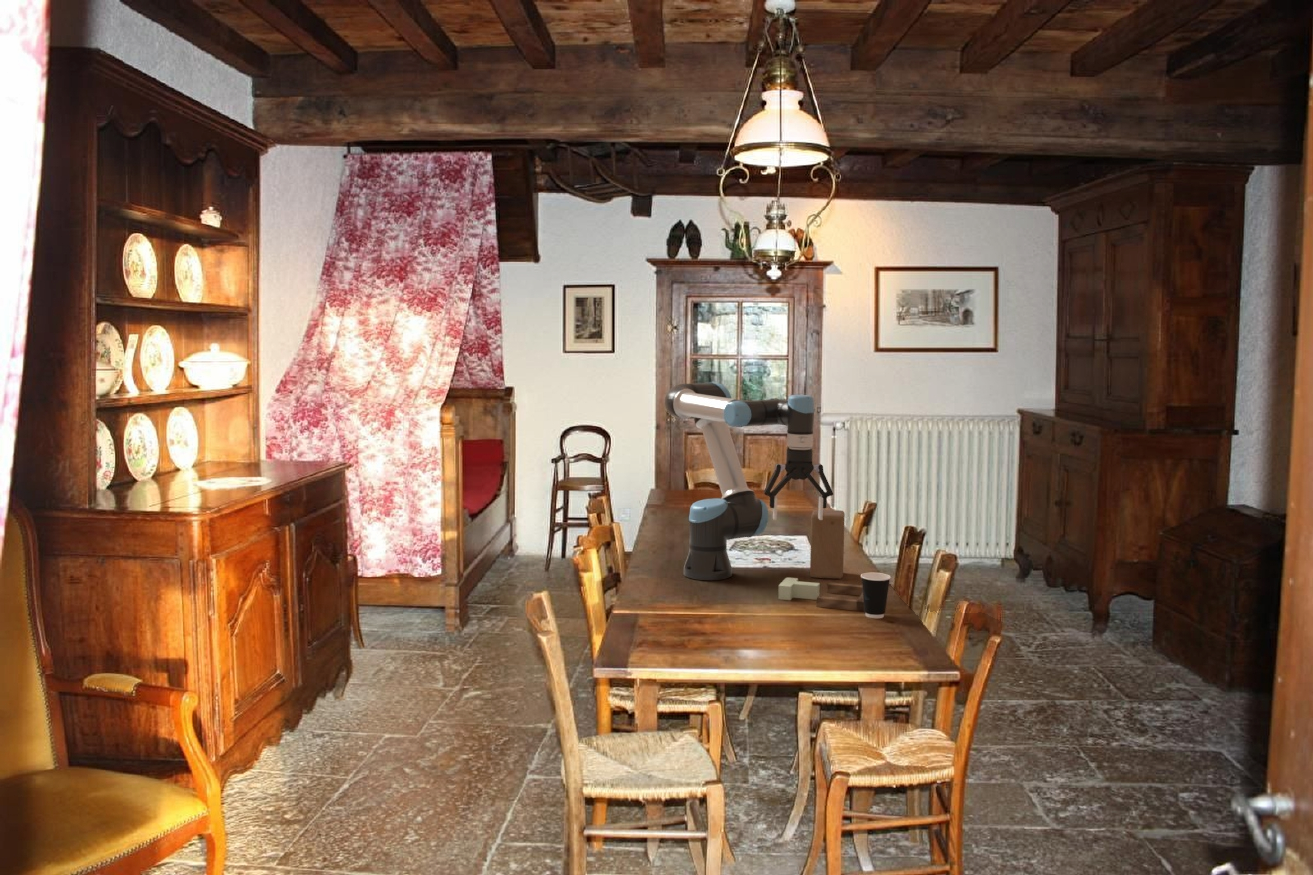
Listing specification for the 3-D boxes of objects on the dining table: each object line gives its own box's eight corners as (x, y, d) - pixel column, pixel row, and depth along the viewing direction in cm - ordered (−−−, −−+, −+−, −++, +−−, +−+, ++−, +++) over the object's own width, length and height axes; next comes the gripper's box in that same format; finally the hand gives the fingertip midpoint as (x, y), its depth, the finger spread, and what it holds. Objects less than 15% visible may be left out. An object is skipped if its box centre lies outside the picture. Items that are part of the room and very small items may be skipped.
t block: (778, 599, 285) (778, 585, 285) (786, 590, 294) (786, 577, 294) (814, 602, 281) (815, 588, 281) (821, 593, 291) (821, 580, 290)
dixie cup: (853, 615, 269) (854, 575, 267) (870, 610, 274) (871, 570, 273) (878, 621, 263) (879, 580, 262) (895, 616, 268) (896, 575, 267)
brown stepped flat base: (816, 606, 277) (816, 597, 277) (828, 590, 294) (828, 582, 294) (863, 611, 273) (864, 602, 273) (873, 594, 290) (873, 586, 289)
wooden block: (842, 579, 307) (844, 515, 305) (809, 578, 309) (811, 514, 307) (843, 572, 317) (844, 510, 315) (811, 570, 319) (812, 508, 317)
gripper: (759, 449, 288) (757, 521, 291) (844, 449, 289) (842, 521, 292) (755, 445, 295) (753, 516, 298) (838, 446, 297) (836, 516, 299)
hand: (797, 519), depth 295 cm, fingers open, 13 cm apart
